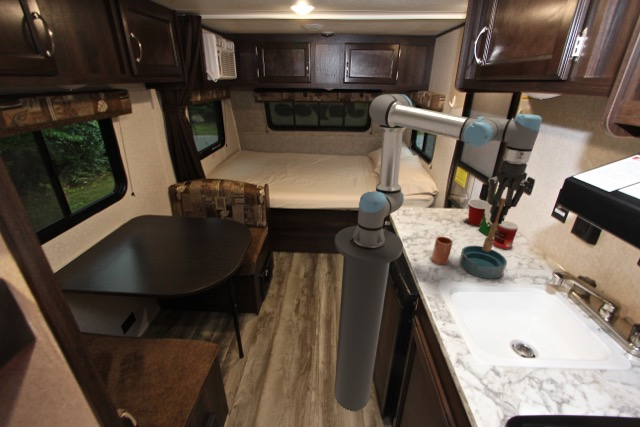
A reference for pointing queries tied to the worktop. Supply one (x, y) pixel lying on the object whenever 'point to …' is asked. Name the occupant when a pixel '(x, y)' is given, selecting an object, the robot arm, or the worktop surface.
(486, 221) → the milk carton
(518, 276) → the worktop surface
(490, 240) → the stick
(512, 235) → the canned food
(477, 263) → the bowl
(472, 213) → the plastic cup
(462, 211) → the worktop surface
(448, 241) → the crock
